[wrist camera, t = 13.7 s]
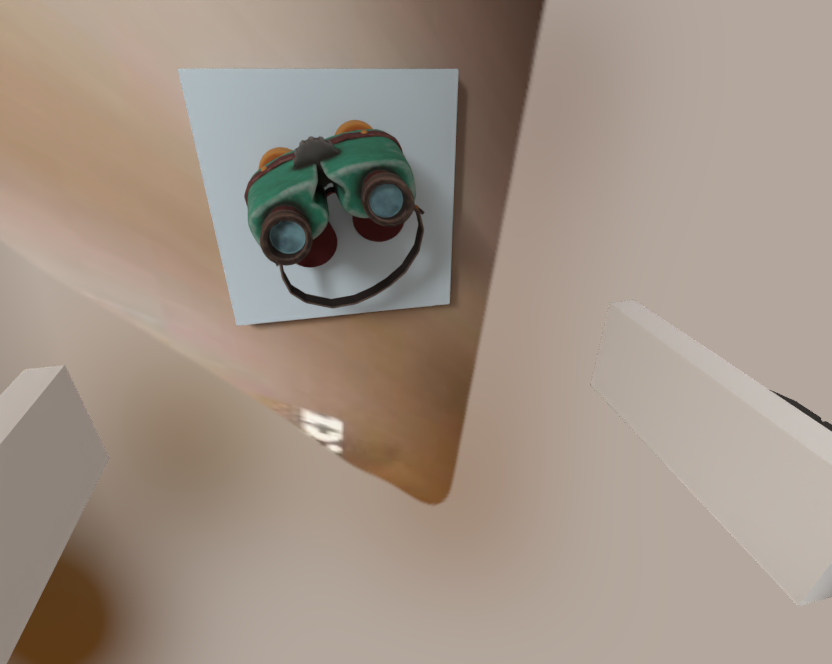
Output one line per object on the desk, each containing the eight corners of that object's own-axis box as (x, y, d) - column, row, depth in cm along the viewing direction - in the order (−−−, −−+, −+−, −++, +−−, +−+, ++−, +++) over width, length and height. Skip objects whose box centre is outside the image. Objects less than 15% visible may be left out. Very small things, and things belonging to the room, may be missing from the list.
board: (184, 69, 24) (177, 68, 23) (451, 69, 27) (458, 69, 26) (239, 315, 32) (236, 325, 30) (444, 295, 34) (449, 303, 33)
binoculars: (311, 389, 22) (200, 207, 16) (302, 288, 31) (227, 142, 25) (477, 326, 23) (429, 124, 17) (423, 242, 31) (378, 87, 25)
